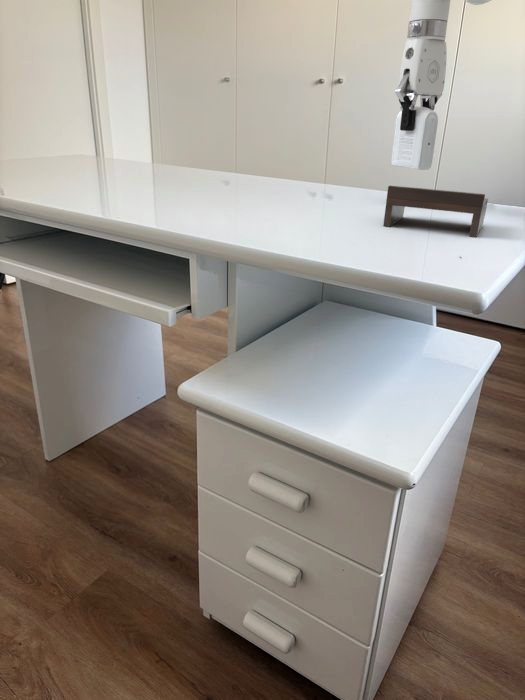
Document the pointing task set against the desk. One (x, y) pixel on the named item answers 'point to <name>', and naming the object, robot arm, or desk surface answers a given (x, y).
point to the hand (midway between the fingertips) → (415, 129)
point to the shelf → (435, 204)
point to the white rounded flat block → (415, 141)
